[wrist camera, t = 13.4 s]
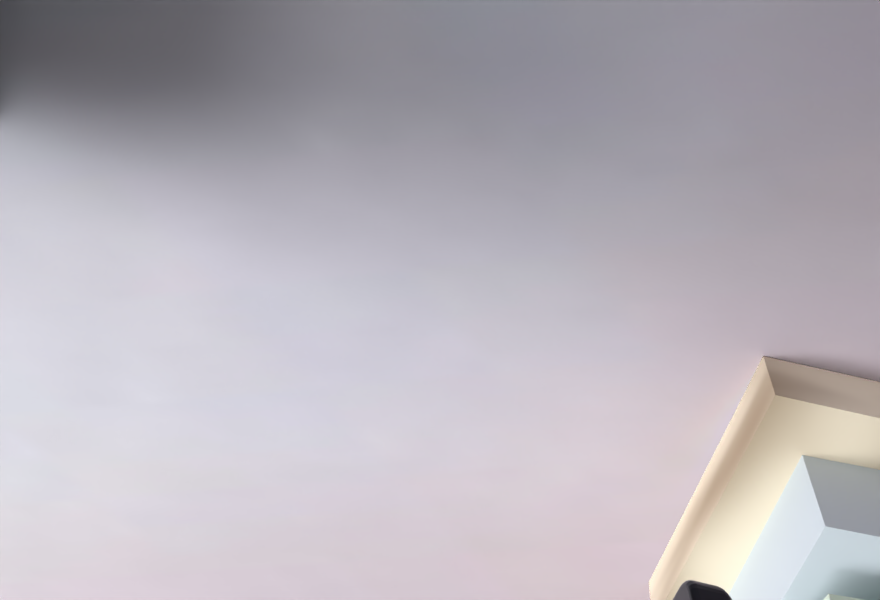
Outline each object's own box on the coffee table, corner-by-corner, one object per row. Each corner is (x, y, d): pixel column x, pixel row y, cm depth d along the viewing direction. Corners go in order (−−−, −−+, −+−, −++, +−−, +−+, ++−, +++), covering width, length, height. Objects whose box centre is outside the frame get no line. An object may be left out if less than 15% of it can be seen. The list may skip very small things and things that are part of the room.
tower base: (646, 562, 29) (652, 624, 27) (757, 338, 23) (775, 395, 21) (928, 626, 29) (956, 693, 27) (1108, 416, 23) (1161, 481, 21)
